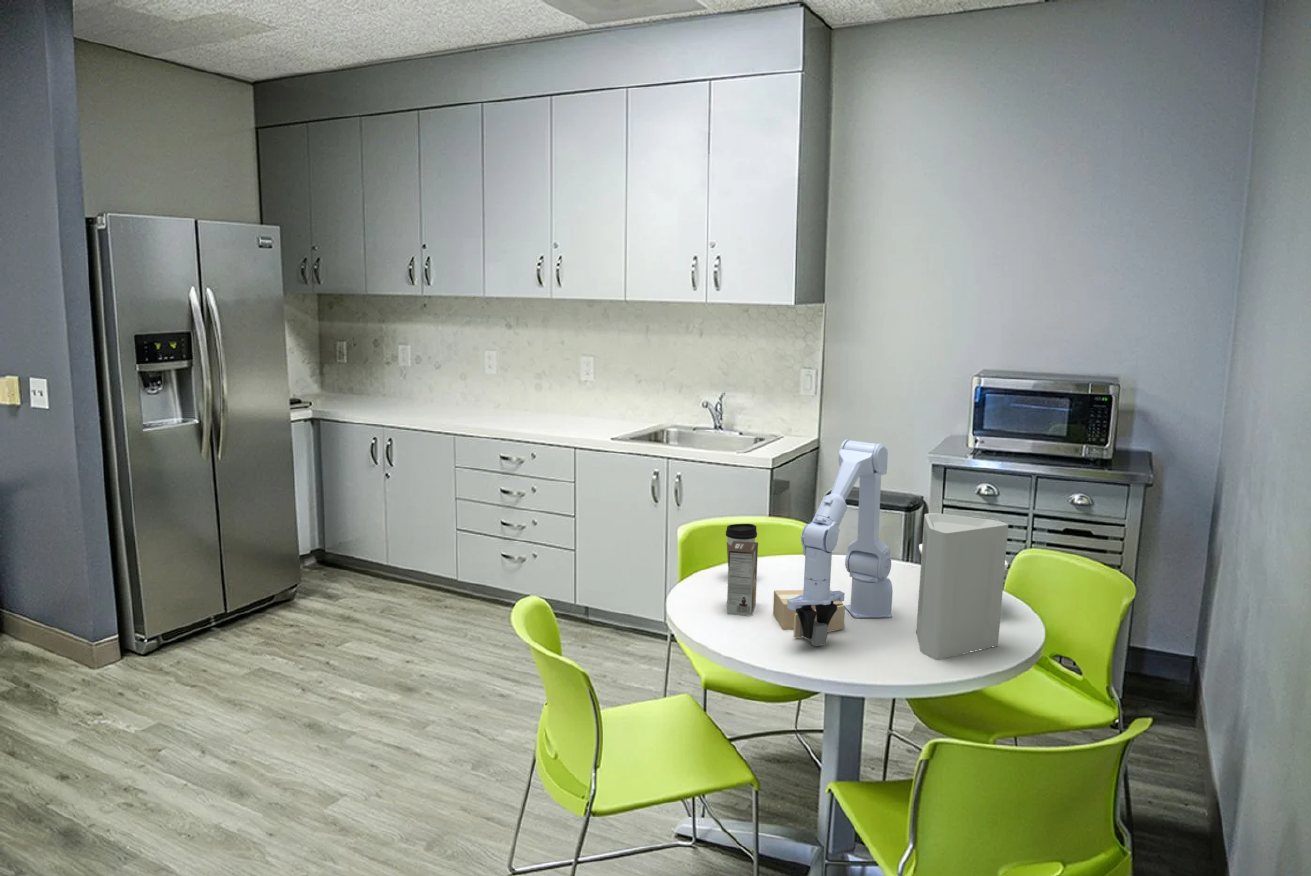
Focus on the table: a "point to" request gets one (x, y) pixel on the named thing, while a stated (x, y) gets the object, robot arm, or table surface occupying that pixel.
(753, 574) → the coffee box
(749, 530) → the coffee cup
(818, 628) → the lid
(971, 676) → the table surface
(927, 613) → the grey triangular prism
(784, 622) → the carton
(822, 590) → the robot arm
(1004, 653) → the table surface
